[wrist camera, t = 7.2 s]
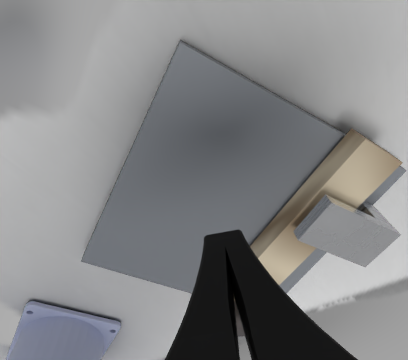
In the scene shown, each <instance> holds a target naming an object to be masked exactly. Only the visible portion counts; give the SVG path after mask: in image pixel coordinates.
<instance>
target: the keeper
mask: <svg viewBox="0 0 408 360" xmlns="http://www.w3.org/2000/svg"><path fill="white" fill-rule="evenodd" d="M293 232H294V234H295V236H296V238H297V240H298V241H300V242H303V243H305V244H308V245H310V246H313V247H315V248H318V249H321V250H323V251H326V252H328V253H331V254H333V255H336V256H338V257H341V258H343V259H346V260H348V261H351V262H353V263H356V264H358V265H361V266H363V267H366V266H367V265H368V264H369V263H370V262H372V261H373V260H374V259H375V258H376V257H377V256H378V255H379V254H380V253H381V252H383V251H384V250H385V249H386V248H387V247H388V246H389V245H390V244H391V243H392V242H393V241H395V240H396V239H397V238H398V237H399V236H400V235H401V234H400V233H399V232H398V231H397V230H396V229H395V228H394V227H393V226H392V225H391V224H390V223H389V222H388V221H387V220H386V218H385V217H384V216H383V215H382V214H381V213H380V212H379V211H378V210H377V209H376V208H375V207H374V206H373V205H372V204H370V203H368V202H366V201H364V202H363V203H362V204H361V205H360V206H359V207H358V208H357V209H355V208H353V207H351V206H349V205H347V204H345V203H343V202H341V201H339V200H336V199H334V198H332V197H330V196H328V195H326V194H325V195H324V196H323V198H322V199H321V200H320V201H319V202H318V203H317V205H316V206H315V207H314V208H313V209H312V210H311V212H310V213H309V214H308V215H307V216H306V217H305V218H304V220H303V221H302V222H301V223H300V224H299V225H298V227H297V228H296V229H295V230H294V231H293Z"/></svg>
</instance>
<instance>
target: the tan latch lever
mask: <svg viewBox="0 0 408 360" xmlns="http://www.w3.org/2000/svg"><path fill="white" fill-rule="evenodd" d="M401 164H402V162H401V161H400V160H398V159H397V158H396V157H394V156H393V155H392V154H390V153H389V152H387V151H386V150H384V149H383V148H381V147H380V146H378V145H377V144H375V143H374V142H372V141H371V140H369V139H367V138H366V137H364V136H363V135H361V134H360V133H358V132H357V131H355V130H354V129H352V128H351V130H350V131H349V132H348V133H347V134H346V135H345V137H344V138H343V139H342V140H341V141H340V142H339V144H338V145H337V146H336V147H335V148H334V149H333V151H332V152H331V153H330V154H329V155H328V156H327V157H326V159H325V160H324V161H323V162H322V163H321V164H320V166H319V167H318V168H317V169H316V170H315V171H314V173H313V174H312V175H311V176H310V177H309V178H308V180H307V181H306V182H305V183H304V184H303V185H302V187H301V188H300V189H299V190H298V191H297V192H296V193H295V195H294V196H293V197H292V198H291V199H290V200H289V202H288V203H287V204H286V205H285V206H284V207H283V209H282V210H281V211H280V212H279V213H278V214H277V216H276V217H275V218H274V219H273V220H272V221H271V223H270V224H269V225H268V226H267V227H266V228H265V229H264V231H263V232H262V233H261V234H260V235H259V236H258V238H257V239H256V240H255V241H254V242H253V243H252V245H251V246H250V247H251V249H252V250H253V252H254V253H255V255H256V256H257V258H258V259H259V261H260V262H261V263H262V265H263V266H264V267H265V269H266V270H267V271H268V273H269V274H270V275H271V276H272V278H273V279H274V280H275V281H276V282H277V284H278V285H280V284H281V283H282V282H283V281H284V280H285V279H286V278H287V277H288V276H289V275H290V274H291V273H292V272H293V271H294V270H295V269H296V268H297V267H298V266H299V265H300V264H301V263H302V262H303V261H304V260H305V259H306V258H307V257H308V256H309V255H310V254H311V253H312V252H313V251H314V250H315V249H316V248H315V247H313V246H310V245H308V244H305V243H303V242H300V241H298V240H297V238H296V236H295V234H294V232H293V231H294V230H295V229H296V228H297V227H298V225H299V224H300V223H301V222H302V221H303V220H304V218H305V217H306V216H307V215H308V214H309V213H310V212H311V210H312V209H313V208H314V207H315V206H316V205H317V203H318V202H319V201H320V200H321V199H322V198H323V196H324V195H325V194H326V195H328V196H330V197H332V198H334V199H336V200H339V201H341V202H343V203H345V204H347V205H349V206H351V207H353V208H355V209H357V208H358V207H359V206H360V205H361V204H362V203H363V202H364V201H365V200H366V199H367V198H368V197H369V196H370V195H371V194H372V193H373V192H374V191H375V190H376V189H377V188H378V187H379V186H380V185H381V184H382V183H383V182H384V181H385V180H386V179H387V178H388V177H389V176H390V175H391V174H392V173H393V172H394V171H395V170H396V169H397V168H398V167H399V166H400V165H401ZM233 295H234V294H233ZM234 304H235V315H236V325H237V336H245V334H244V330H243V327H242V323H241V320H240V316H239V313H238V309H237V306H236V302H235V299H234Z"/></svg>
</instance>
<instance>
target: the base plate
mask: <svg viewBox="0 0 408 360" xmlns="http://www.w3.org/2000/svg"><path fill="white" fill-rule="evenodd" d="M345 135H346V134H345V133H343V132H341V131H339V130H338V129H336V128H334V127H332V126H331V125H329V124H327V123H325V122H324V121H322V120H320V119H318V118H316V117H315V116H313V115H311V114H309V113H308V112H306V111H304V110H302V109H301V108H299V107H297V106H295V105H294V104H292V103H290V102H288V101H287V100H285V99H283V98H281V97H280V96H278V95H276V94H274V93H272V92H271V91H269V90H267V89H265V88H264V87H262V86H260V85H258V84H257V83H255V82H253V81H251V80H250V79H248V78H246V77H244V76H243V75H241V74H239V73H237V72H236V71H234V70H232V69H230V68H229V67H227V66H225V65H223V64H221V63H220V62H218V61H216V60H214V59H213V58H211V57H209V56H207V55H206V54H204V53H202V52H200V51H199V50H197V49H195V48H193V47H192V46H190V45H188V44H186V43H185V42H183V41H181V40H180V41H179V44H178V46H177V48H176V50H175V53H174V55H173V57H172V59H171V61H170V64H169V66H168V68H167V70H166V73H165V75H164V77H163V79H162V81H161V84H160V86H159V88H158V90H157V92H156V95H155V97H154V99H153V101H152V104H151V106H150V108H149V110H148V112H147V115H146V117H145V119H144V121H143V123H142V126H141V128H140V130H139V132H138V135H137V137H136V139H135V141H134V143H133V146H132V148H131V150H130V152H129V155H128V157H127V159H126V161H125V163H124V166H123V168H122V170H121V172H120V174H119V177H118V179H117V181H116V183H115V186H114V188H113V190H112V192H111V194H110V197H109V199H108V201H107V203H106V206H105V208H104V210H103V212H102V214H101V217H100V219H99V221H98V223H97V225H96V228H95V230H94V232H93V234H92V237H91V239H90V241H89V243H88V245H87V248H86V250H85V252H84V255H83V258H82V260H81V262H84V263H88V264H91V265H95V266H98V267H102V268H105V269H109V270H112V271H116V272H119V273H123V274H126V275H130V276H133V277H136V278H140V279H143V280H147V281H150V282H154V283H157V284H161V285H164V286H168V287H171V288H175V289H178V290H182V291H185V292H189V293H192V292H193V289H194V286H195V283H196V279H197V275H198V271H199V267H200V263H201V258H202V252H203V244H204V237H205V236H206V235H210V234H215V233H221V232H226V231H232V230H238V229H239V230H241V231H242V233H243V235H244V237H245V239H246V241H247V242H248V244H249V246H251V245H252V243H253V242H254V241H255V240H256V239H257V238H258V236H259V235H260V234H261V233H262V232H263V231H264V229H265V228H266V227H267V226H268V225H269V224H270V223H271V221H272V220H273V219H274V218H275V217H276V216H277V214H278V213H279V212H280V211H281V210H282V209H283V207H284V206H285V205H286V204H287V203H288V202H289V200H290V199H291V198H292V197H293V196H294V195H295V193H296V192H297V191H298V190H299V189H300V188H301V187H302V185H303V184H304V183H305V182H306V181H307V180H308V178H309V177H310V176H311V175H312V174H313V173H314V171H315V170H316V169H317V168H318V167H319V166H320V164H321V163H322V162H323V161H324V160H325V159H326V157H327V156H328V155H329V154H330V153H331V152H332V151H333V149H334V148H335V147H336V146H337V145H338V144H339V142H340V141H341V140H342V139H343V138H344V137H345ZM405 172H406V170H405V169H404V168H403V167H401V166H399V167H398V168H397V169H396V170H395V171H394V172H393V173H392V174H391V175H390V176H389V177H388V178H387V179H386V180H385V181H384V182H383V183H382V184H381V185H380V186H379V187H378V188H377V189H376V190H375V191H374V192H373V193H372V194H371V195H370V196H369V197H368V198H367V199H366V200H365V201H366V202H368V203H370V204H372V205H373V204H374V203H375V202H376V201H377V200H378V199H379V198H380V197H381V196H382V195H383V194H384V193H385V192H386V191H387V190H388V189H389V188H390V187H391V186H392V185H393V184H394V183H395V182H396V181H397V180H398V179H399V178H400V177H401V176H402V175H403V174H404V173H405ZM325 254H326V251H323V250H321V249H318V248H316V249H315V250H314V251H313V252H312V253H311V254H310V255H309V256H308V257H307V258H306V259H305V260H304V261H303V262H302V263H301V264H300V265H299V266H298V267H297V268H296V269H295V270H294V271H293V272H292V273H291V274H290V275H289V276H288V277H287V278H286V279H285V280H284V281H283V282H282V283H281V284H280V285H279V286H280V287H281V288H282V289H283V291H284V292H285V293H287V292H288V291H289V290H290V289H291V288H292V287H293V286H294V285H295V284H296V283H297V282H298V281H299V280H300V279H301V278H302V277H303V276H304V275H305V274H306V273H307V272H308V271H309V270H310V269H311V268H312V267H313V266H314V265H315V264H316V263H317V262H318V261H319V260H320V259H321V258H322V257H323V256H324V255H325Z"/></svg>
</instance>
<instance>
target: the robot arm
mask: <svg viewBox="0 0 408 360" xmlns="http://www.w3.org/2000/svg"><path fill="white" fill-rule="evenodd" d="M233 294H234V295H233ZM234 299H235V302H236V306H237V309H238V313H239V316H240V320H241V323H242V327H243V330H244V334H245V337H246V341H247V344H248V348H249V351H250V354H251V358H252V360H358V359H356V358H355V357H354V356H353V355H351V354H350V353H349V352H348V351H346V350H345V349H344V348H343V347H342V346H341V345H339V344H338V343H337V342H336V341H335V340H334V339H332V338H331V337H330V336H329V335H328V334H327V333H326V332H324V331H323V330H322V329H321V328H320V327H319V326H318V325H317V324H315V322H314V321H313V320H311V319H310V318H309V317H308V316H307V315H306V314H305V313H304V312H303V311H302V310H301V309H300V308H299V307H298V306H297V305H296V304H295V303H294V302H293V300H292V299H291V298H290V297H289V296H288V295H287V294H286V293H285V292H284V291H283V289H282V288H281V287H280V286H279V285H278V284H277V282H276V281H275V280H274V279H273V278H272V276H271V275H270V274H269V273H268V271H267V270H266V269H265V267H264V266H263V265H262V263H261V262H260V261H259V259H258V258H257V256H256V255H255V253H254V252H253V250H252V249H251V247H250V246H249V244H248V242H247V241H246V239H245V237H244V235H243V233H242V231H241V230H239V229H238V230H232V231H226V232H221V233H215V234H210V235H206V236H205V237H204V244H203V252H202V258H201V263H200V267H199V271H198V275H197V279H196V283H195V286H194V289H193V292H192V295H191V298H190V301H189V304H188V307H187V310H186V313H185V315H184V318H183V320H182V323H181V325H180V328H179V330H178V333H177V335H176V337H175V339H174V341H173V344H172V346H171V348H170V350H169V352H168V354H167V356H166V358H165V360H240V357H239V347H238V336H237V325H236V315H235V304H234ZM120 328H121V323H120V322H118V321H115V320H111V319H106V318H102V317H98V316H94V315H89V314H85V313H81V312H77V311H73V310H68V309H64V308H60V307H56V306H51V305H47V304H43V303H39V302H35V301H30V302H28V303H27V304H26V306H25V308H24V311H23V314H22V316H21V319H20V322H19V325H18V327H17V330H16V333H15V336H14V338H13V341H12V344H11V346H10V349H9V352H8V355H7V357H6V360H101V359H102V357H103V355H104V354H105V352H106V350H107V349H108V347H109V346H110V344H111V343H112V341H113V339H114V338H115V336H116V335H117V333H118V332H119V330H120Z"/></svg>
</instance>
